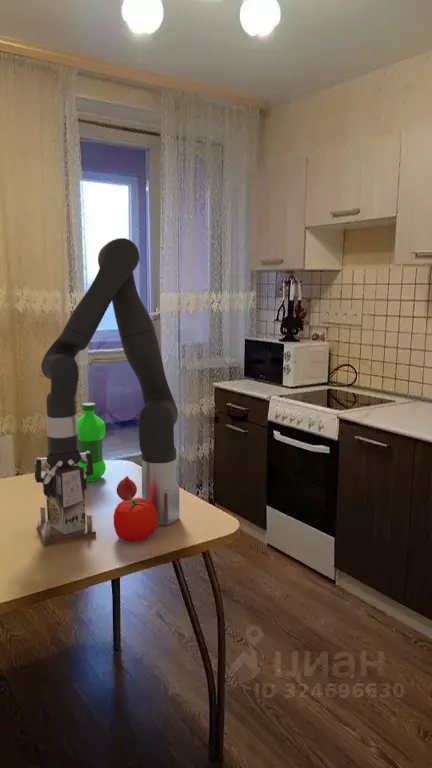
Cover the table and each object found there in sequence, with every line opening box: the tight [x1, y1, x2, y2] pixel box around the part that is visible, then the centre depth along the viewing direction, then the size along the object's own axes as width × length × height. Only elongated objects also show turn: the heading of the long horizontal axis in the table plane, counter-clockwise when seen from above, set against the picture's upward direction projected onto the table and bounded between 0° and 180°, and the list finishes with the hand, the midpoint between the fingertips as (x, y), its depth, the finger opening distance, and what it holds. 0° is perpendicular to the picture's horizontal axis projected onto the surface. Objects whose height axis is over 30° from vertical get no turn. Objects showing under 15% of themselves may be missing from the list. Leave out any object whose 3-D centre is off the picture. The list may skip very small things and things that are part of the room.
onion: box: [116, 475, 138, 501], centre depth 168 cm, size 6×6×8 cm
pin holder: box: [37, 506, 97, 547], centre depth 148 cm, size 13×13×6 cm
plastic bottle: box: [77, 402, 107, 482], centre depth 186 cm, size 10×10×25 cm
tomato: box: [113, 496, 159, 543], centre depth 144 cm, size 12×12×10 cm
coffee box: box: [44, 464, 86, 534], centre depth 147 cm, size 9×6×16 cm
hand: (65, 494), depth 146 cm, fingers open, 8 cm apart
